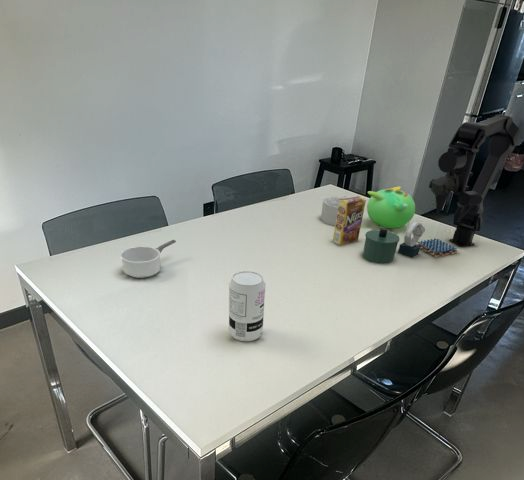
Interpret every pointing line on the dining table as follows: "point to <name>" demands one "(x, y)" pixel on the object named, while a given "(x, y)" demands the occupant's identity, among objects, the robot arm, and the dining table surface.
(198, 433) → the dining table surface
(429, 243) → the woven mat
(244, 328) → the supplement can
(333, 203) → the lumpy-topped squat cylinder
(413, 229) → the watch
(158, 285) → the dining table surface
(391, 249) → the pot
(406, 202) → the green toy creature
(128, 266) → the saucepan
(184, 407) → the dining table surface
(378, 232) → the pot lid
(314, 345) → the dining table surface
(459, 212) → the robot arm
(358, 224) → the candy box
